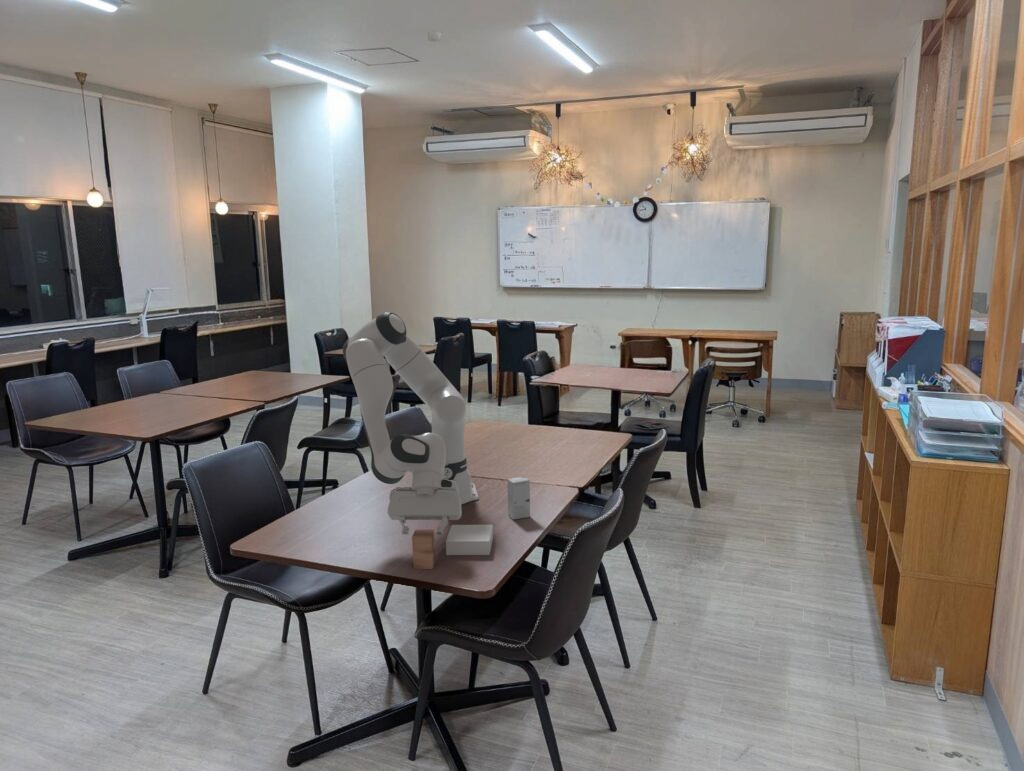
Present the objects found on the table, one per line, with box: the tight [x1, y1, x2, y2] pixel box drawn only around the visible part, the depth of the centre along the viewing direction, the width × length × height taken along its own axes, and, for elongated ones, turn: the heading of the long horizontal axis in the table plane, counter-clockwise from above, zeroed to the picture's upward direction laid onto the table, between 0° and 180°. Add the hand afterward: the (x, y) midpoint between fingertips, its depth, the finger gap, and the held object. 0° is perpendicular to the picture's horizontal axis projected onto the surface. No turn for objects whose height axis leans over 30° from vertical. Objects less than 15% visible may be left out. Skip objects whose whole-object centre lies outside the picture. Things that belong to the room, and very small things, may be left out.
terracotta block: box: [411, 529, 436, 570], centre depth 186 cm, size 5×5×9 cm
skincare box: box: [506, 476, 531, 520], centre depth 219 cm, size 6×4×12 cm
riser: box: [445, 524, 494, 556], centre depth 198 cm, size 12×12×4 cm
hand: (422, 533), depth 188 cm, fingers open, 8 cm apart
